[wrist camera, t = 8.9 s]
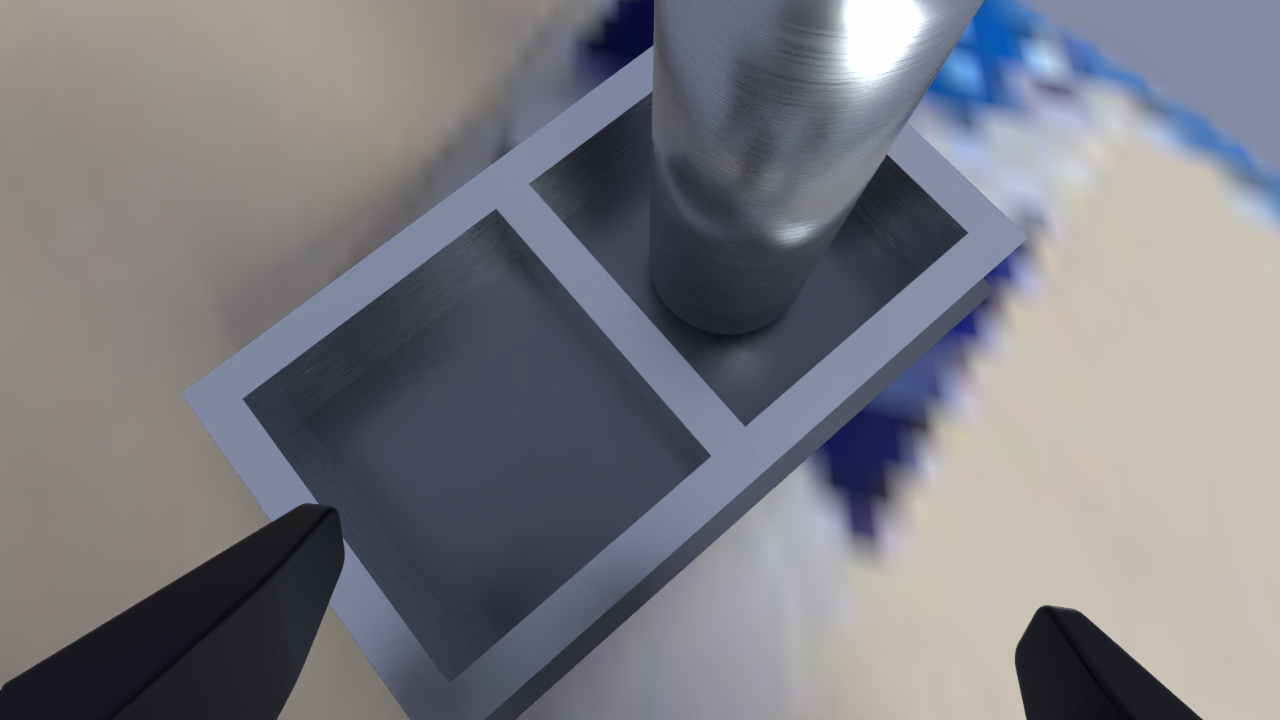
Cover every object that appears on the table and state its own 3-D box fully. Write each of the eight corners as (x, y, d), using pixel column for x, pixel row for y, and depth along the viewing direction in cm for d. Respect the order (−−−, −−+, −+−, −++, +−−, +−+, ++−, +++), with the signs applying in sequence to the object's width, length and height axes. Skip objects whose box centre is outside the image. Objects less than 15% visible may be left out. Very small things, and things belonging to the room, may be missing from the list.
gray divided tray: (486, 740, 18) (444, 796, 14) (248, 412, 20) (155, 382, 16) (978, 301, 21) (1056, 247, 17) (725, 52, 23) (743, -47, 19)
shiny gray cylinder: (673, 352, 19) (719, 71, 8) (631, 209, 20) (615, -227, 9) (827, 311, 20) (1092, -20, 8) (777, 171, 21) (948, -299, 9)
